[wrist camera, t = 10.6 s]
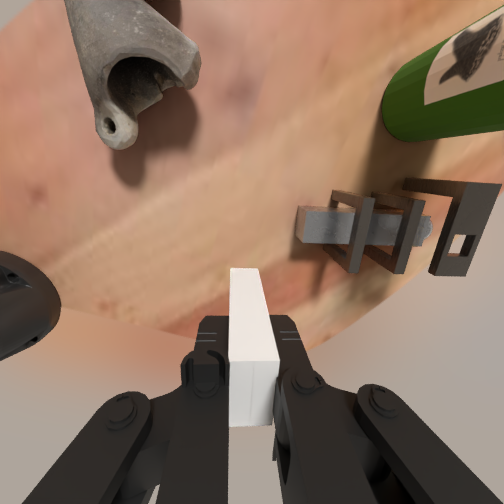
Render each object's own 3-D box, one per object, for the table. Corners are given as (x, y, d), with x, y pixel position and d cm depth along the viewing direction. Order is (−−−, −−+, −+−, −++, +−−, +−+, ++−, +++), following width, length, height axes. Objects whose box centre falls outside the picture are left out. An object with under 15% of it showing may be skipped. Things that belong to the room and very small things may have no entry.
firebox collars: (322, 249, 35) (355, 280, 25) (335, 173, 31) (379, 177, 22) (402, 251, 36) (462, 282, 26) (423, 178, 32) (502, 184, 23)
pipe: (130, 77, 33) (168, 165, 29) (45, 45, 26) (83, 155, 23) (180, -85, 22) (248, 26, 19) (57, -209, 15) (131, -69, 12)
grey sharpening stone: (294, 234, 33) (302, 243, 30) (298, 205, 32) (306, 210, 28) (413, 238, 35) (435, 247, 31) (421, 210, 34) (445, 216, 30)
